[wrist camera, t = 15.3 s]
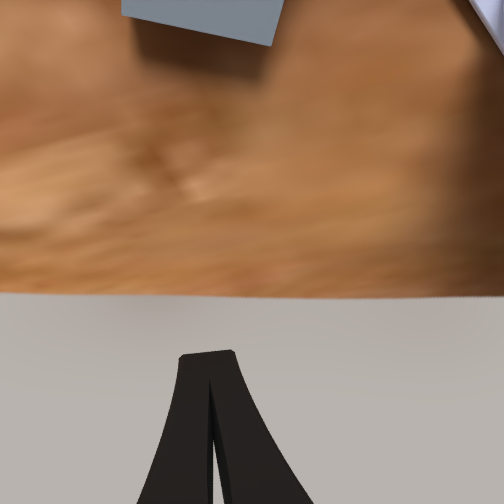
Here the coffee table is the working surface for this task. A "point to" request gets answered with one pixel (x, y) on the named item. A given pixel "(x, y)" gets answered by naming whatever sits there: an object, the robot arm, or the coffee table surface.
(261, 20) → the domino
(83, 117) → the coffee table surface
